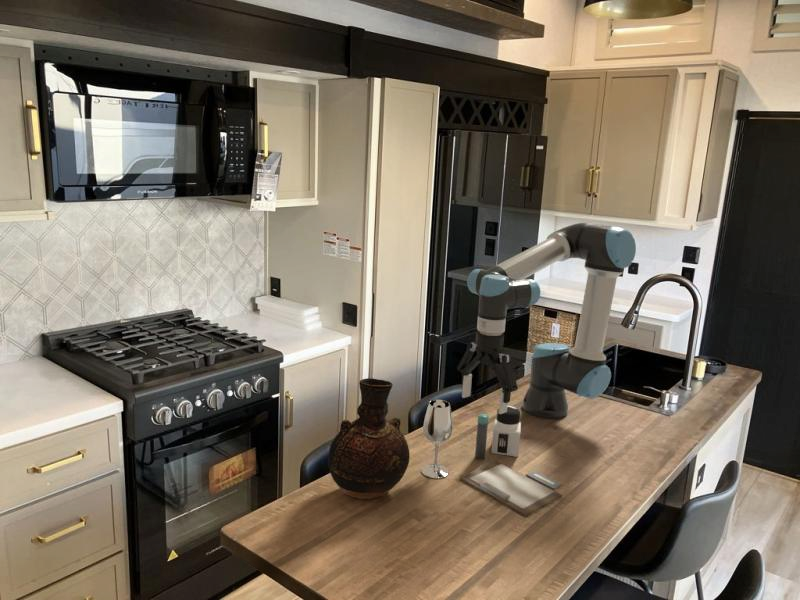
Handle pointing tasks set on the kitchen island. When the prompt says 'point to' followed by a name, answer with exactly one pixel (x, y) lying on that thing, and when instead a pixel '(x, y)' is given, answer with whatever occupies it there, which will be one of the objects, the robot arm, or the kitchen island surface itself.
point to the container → (507, 433)
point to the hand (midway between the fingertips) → (483, 404)
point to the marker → (481, 436)
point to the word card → (544, 480)
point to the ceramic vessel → (369, 446)
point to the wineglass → (437, 434)
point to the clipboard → (511, 488)
